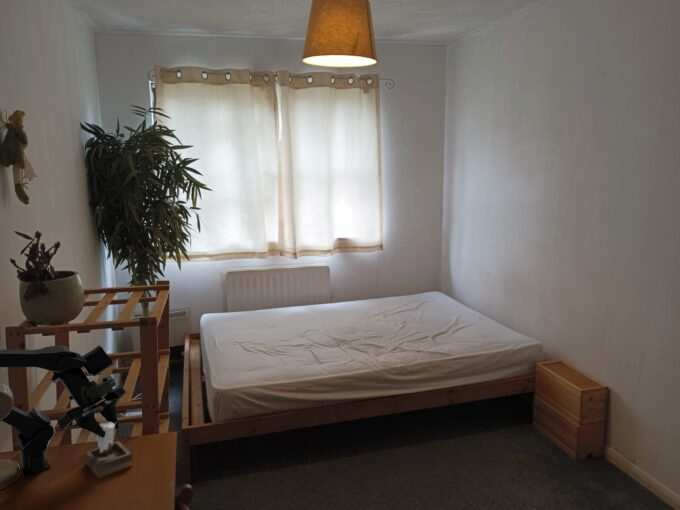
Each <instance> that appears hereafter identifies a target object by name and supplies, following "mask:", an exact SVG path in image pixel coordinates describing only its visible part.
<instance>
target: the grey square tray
mask: <svg viewBox="0 0 680 510" xmlns="http://www.w3.org/2000/svg"><path fill="white" fill-rule="evenodd" d="M85 464H86V465H87V466H88V468H89V469H90V470H91V471H92V473H93V474H94V475H95V476H96V477H97V478H98V479H100V478H103V477H106V476H108V475H111V474H114V473H117V472H119V471H122V470H124V469H126V468H129V467H131V466H133V454H132V453H131V451H130V450H129V449H128V448H127V447H125V446H124V444H122V443H121V441H119V440H117V441H113V449H112V454H111V456H109V457H104V458H103V457H100V456H99V450H98V447H95V448H93V449H90V450H87V451H85Z"/></svg>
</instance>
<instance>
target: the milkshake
mask: <svg viewBox="0 0 680 510" xmlns="http://www.w3.org/2000/svg"><path fill="white" fill-rule="evenodd" d="M116 422H117V421H116ZM116 422H115V424H116ZM98 424H99V425H100V427H101V428H102V430H103V431H104V433H105V437H103V438H102V437H100V436H98V435H97V448H98V450H99V456H100V457H103V458H104V457H109V456H111V454H112V449H113V442H114V440H115V439H114V438H115V437H114V436H115V431H116V429H115V424H114V423H112V422H110V421H107V420H106V421H102V422H100V423H98Z"/></svg>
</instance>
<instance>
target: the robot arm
mask: <svg viewBox="0 0 680 510" xmlns="http://www.w3.org/2000/svg"><path fill="white" fill-rule="evenodd" d="M112 366H114V362H113V360H112V358H111V357H110V356H109V355H108V353H106V351H105V350H104V348H103V347H102V346H101V345H97V346H96V347H95V348H93V349H92V350H90V351H89V352H87V353H85V354H84V355H82V354H80V353H79V352H75V351H71V350H70V349H69V347H67V346H66V345H62V344H58V345H50V346H45V347H41V348H39V349H0V368H39V369H42V370H46V371H51V372H53V374H52V378H51V382H52V383H53V384H57V383H58V382H60V381H61V383H62V384H63V386H64V387H65V389H66V391H67V392H68V393H69V395H70V396H68V399H69V400H70V401H73V400H74V402H75V403H76V405H77V406H75V407H74V408H72V409H70V410H68V411H66V412H65V413H64V414H63V415H62V416H61V417H60V418H59V419H58V422H57V423H58V427H59V428H60V429H61V431H65V430H66V429H68V428H70V427H72V426H73V423H74V421H75V422H76V424H75V425H74V427H75V428H77V427H79V428H82V429H84V430H86V431H89V432H91V433H93V434H94V435H98V436H100V437H102V438H103V437H105V433H104V431H103V430H102V428H101V427H100V425H99V424H100V423H99V422H98V421H97V419H96V416H95V410H97V409H101V411H100V412H99V414H100V415H101V416H102V417H103V418H104V419H105V420H106V421H110V422H112V423H114V424H115V422H116V421H117V422H116V424H115V431H116V430H118V429H119V428H120V425H119V420H118V417H117V416H118V415H117V411H116V405H117V402H118V401H120V399H121V398H123V396H125V395H126V394H127V391H126V390H125V389H124V387H123V386H117V384H116V381H115V379H114V378H113V377H112V375H111V374H110V375H107V376H105V377H103V378H102V382H99V383H97V382H96V381H95V380H91V381H90V379H89V377H88V376H92V377H96V376H98V375H99V374H100V373H102V372H104V371H105V370H107V369H108V368H110V367H112ZM82 368H83V369H82ZM83 370H85V371H83ZM85 372H86V373H85ZM86 374H87V375H88V376H87V375H86ZM115 386H116V387H115ZM12 406H13V408H12V410H11V412H10V414H9V415H8V416H7V417H6V418H4V419H3V420H0V421H1V422H3V423H5V424H7V425H9V426H11V427H14V429H16V430H17V431H18V432H19V433H18V434H17V435H16V437H15V438H16V440H17V442H18V444H19V446H20V448H19V454H20V463H19V465H20V470H19V472H20V474H21V475H22V477H28V476H31V475H33V474H37V473H40V472H43V471H45V470H48V469H50V468H51V464H50V463H49V462H48V460H47V459H46V450H47V447H48V445H49V442H50V440H52V438H53V436H54V434H55V428H54V427H53V425H52V422H51V420H50V418H49V416H48V415H47V413H46V412H43V411H42V412H41V411H39V410H38V409H37V408H35V407H32V408H31V409H30V411H25V410H22V409H20V408H18V407H16V406H14V405H12ZM98 436H97V437H98Z"/></svg>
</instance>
